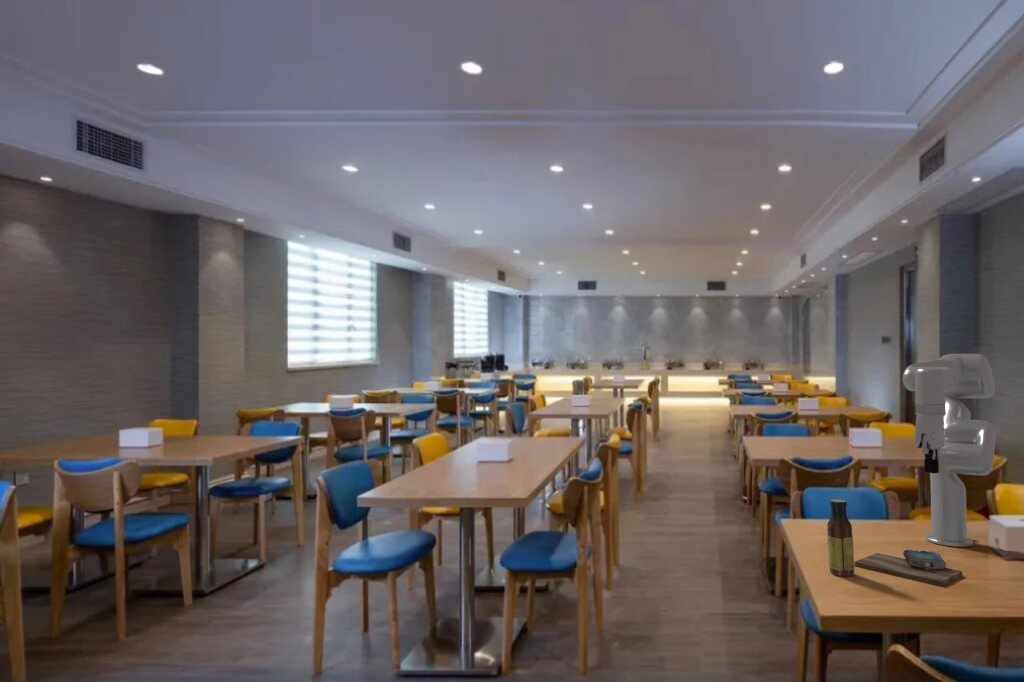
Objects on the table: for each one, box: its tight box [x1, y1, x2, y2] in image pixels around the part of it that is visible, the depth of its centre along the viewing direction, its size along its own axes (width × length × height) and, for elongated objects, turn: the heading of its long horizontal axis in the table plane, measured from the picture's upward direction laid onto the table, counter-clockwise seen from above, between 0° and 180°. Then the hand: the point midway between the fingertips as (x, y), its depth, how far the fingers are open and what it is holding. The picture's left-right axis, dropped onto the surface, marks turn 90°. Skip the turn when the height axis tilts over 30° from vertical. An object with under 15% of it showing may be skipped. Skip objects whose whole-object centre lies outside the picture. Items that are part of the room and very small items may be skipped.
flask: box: [903, 549, 947, 570], centre depth 187 cm, size 9×3×11 cm
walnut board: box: [854, 552, 963, 587], centre depth 186 cm, size 14×22×1 cm, turn 38°
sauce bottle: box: [827, 498, 856, 578], centre depth 184 cm, size 7×6×20 cm
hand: (931, 472), depth 198 cm, fingers closed
